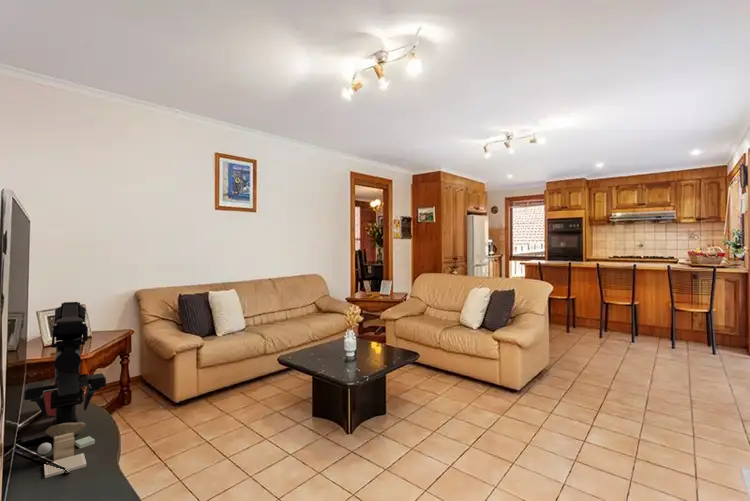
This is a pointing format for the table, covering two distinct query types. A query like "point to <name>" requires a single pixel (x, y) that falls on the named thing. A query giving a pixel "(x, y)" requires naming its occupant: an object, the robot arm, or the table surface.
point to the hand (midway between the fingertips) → (65, 414)
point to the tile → (84, 442)
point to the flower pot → (49, 404)
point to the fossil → (65, 429)
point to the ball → (44, 448)
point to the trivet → (65, 465)
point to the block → (63, 446)
